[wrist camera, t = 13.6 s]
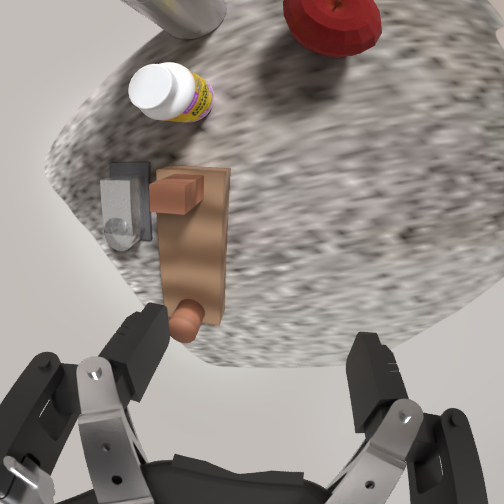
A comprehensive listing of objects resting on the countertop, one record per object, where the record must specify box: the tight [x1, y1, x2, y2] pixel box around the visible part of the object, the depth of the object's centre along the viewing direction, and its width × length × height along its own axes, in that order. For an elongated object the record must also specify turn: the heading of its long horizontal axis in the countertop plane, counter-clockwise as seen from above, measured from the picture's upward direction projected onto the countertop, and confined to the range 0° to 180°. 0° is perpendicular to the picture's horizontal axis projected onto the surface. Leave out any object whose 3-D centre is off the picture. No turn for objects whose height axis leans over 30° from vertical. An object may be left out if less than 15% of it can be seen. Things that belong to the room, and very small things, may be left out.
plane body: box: [149, 166, 231, 343], centre depth 36 cm, size 23×9×11 cm, turn 176°
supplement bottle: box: [128, 62, 214, 123], centre depth 27 cm, size 7×7×13 cm
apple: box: [283, 0, 382, 58], centre depth 21 cm, size 11×11×12 cm
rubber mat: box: [110, 162, 152, 240], centre depth 39 cm, size 12×7×1 cm, turn 176°
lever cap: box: [100, 175, 145, 251], centre depth 37 cm, size 11×5×4 cm, turn 175°
